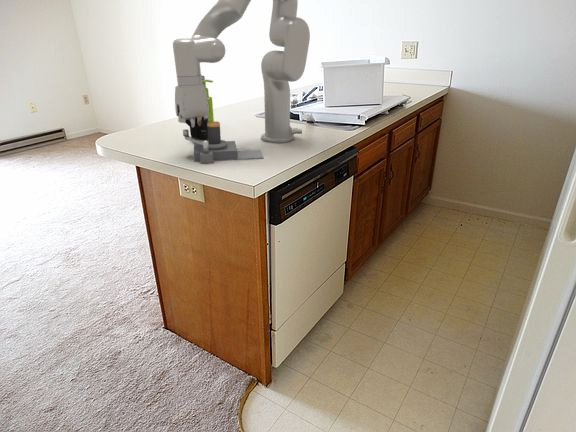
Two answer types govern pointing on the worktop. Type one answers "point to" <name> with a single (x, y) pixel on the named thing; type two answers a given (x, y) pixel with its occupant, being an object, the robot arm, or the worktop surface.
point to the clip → (197, 141)
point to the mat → (249, 154)
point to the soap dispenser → (209, 101)
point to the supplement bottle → (204, 130)
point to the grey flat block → (215, 153)
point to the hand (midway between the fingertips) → (196, 137)
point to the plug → (215, 136)
